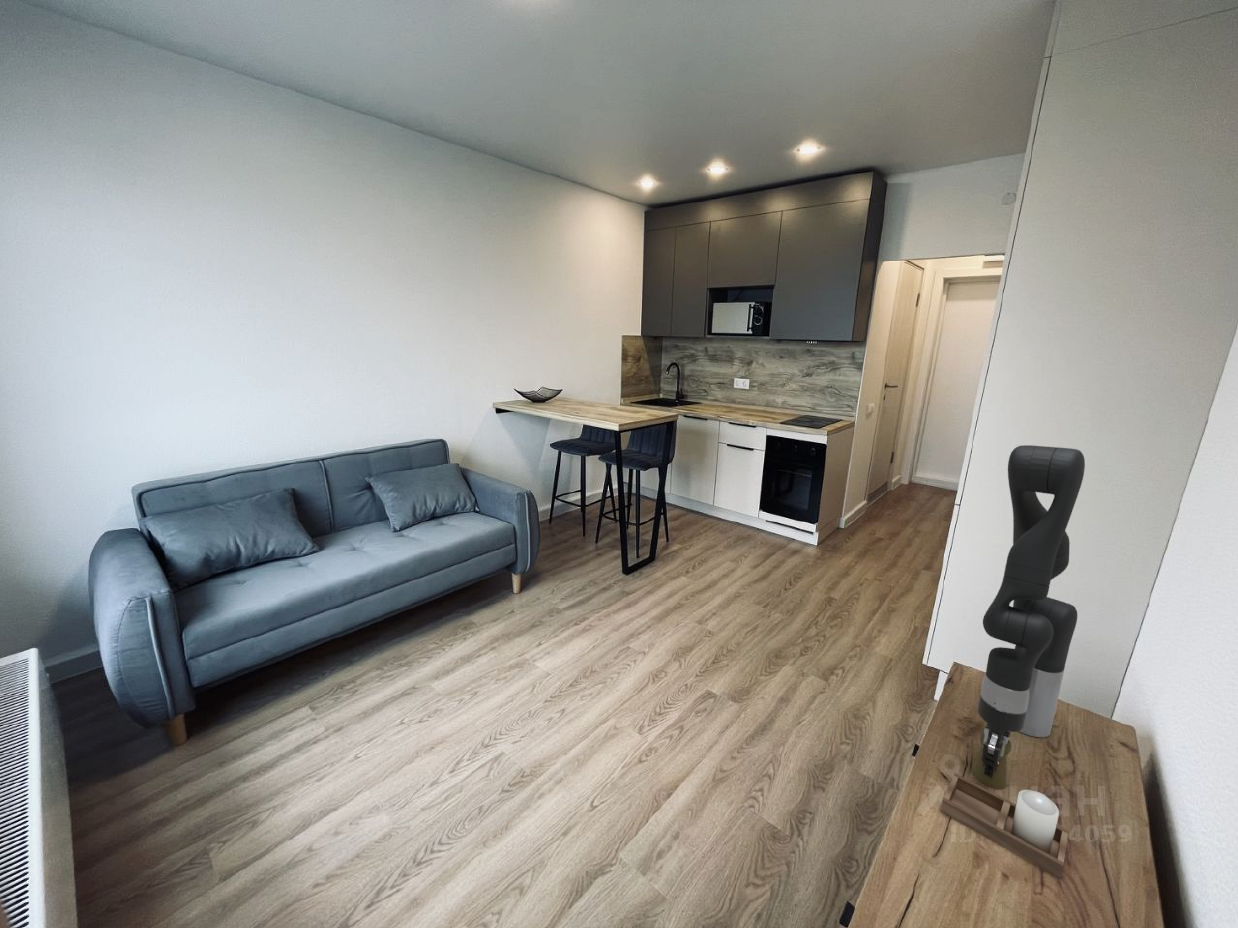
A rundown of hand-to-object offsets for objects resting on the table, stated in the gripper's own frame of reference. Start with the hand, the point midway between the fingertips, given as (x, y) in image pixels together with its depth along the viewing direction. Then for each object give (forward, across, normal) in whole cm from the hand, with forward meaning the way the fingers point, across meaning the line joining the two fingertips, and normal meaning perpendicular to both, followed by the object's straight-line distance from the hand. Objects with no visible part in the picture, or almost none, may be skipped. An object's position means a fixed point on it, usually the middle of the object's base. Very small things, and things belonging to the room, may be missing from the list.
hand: (990, 770), depth 103 cm
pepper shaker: (+2, 0, 0) cm, 2 cm away
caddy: (+2, +12, +4) cm, 13 cm away
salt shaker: (+2, +12, +8) cm, 15 cm away
